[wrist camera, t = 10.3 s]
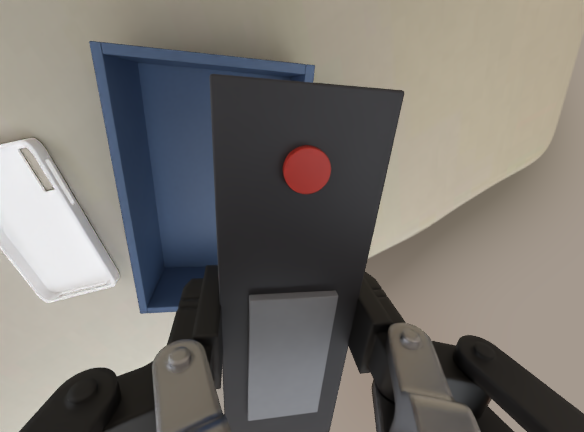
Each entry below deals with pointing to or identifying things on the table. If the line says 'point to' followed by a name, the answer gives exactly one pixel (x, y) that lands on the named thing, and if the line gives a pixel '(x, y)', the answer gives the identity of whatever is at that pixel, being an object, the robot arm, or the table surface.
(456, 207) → the table surface
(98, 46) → the open blue packaging tray
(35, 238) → the phone case
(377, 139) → the remote
